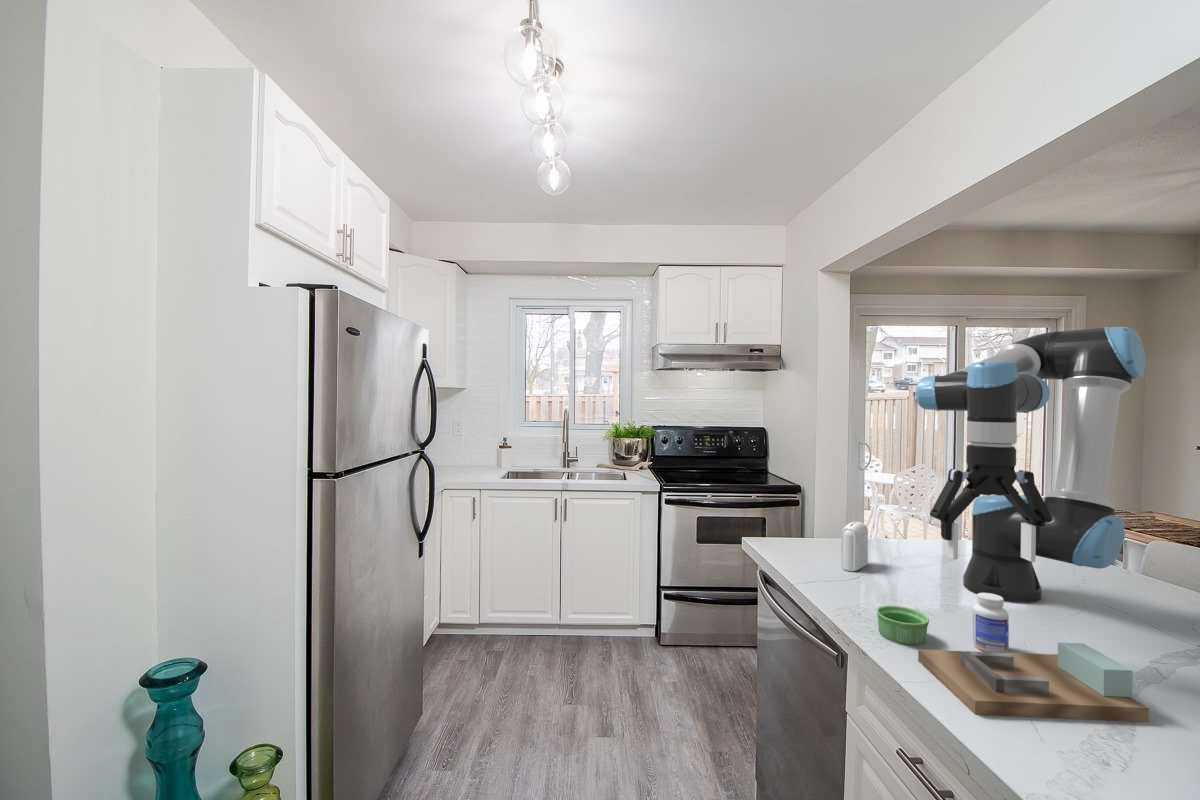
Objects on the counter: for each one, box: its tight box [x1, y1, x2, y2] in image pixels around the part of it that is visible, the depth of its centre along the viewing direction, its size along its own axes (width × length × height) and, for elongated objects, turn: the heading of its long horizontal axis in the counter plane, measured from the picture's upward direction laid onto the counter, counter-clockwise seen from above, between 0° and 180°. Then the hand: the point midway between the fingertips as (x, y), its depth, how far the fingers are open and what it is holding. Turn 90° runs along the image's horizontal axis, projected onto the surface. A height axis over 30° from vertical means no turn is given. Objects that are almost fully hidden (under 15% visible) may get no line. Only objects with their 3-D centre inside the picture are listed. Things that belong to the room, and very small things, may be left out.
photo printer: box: [840, 521, 869, 572], centre depth 147 cm, size 10×4×12 cm, turn 134°
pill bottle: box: [972, 593, 1010, 653], centre depth 100 cm, size 5×5×10 cm
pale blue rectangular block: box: [1057, 642, 1133, 698], centre depth 85 cm, size 4×9×4 cm, turn 176°
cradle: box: [917, 649, 1150, 723], centre depth 86 cm, size 24×16×4 cm, turn 86°
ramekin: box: [876, 605, 930, 646], centre depth 105 cm, size 9×9×4 cm
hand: (989, 558), depth 100 cm, fingers open, 13 cm apart
